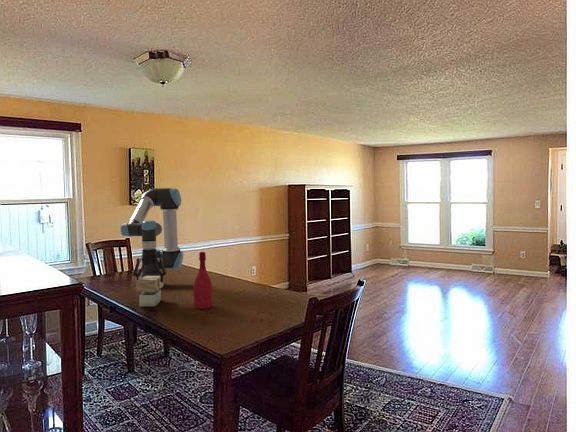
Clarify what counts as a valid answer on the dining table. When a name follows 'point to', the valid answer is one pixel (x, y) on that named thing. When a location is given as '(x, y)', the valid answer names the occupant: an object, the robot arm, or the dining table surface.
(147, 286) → the lid
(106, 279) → the dining table surface
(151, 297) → the dish
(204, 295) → the wine bottle
